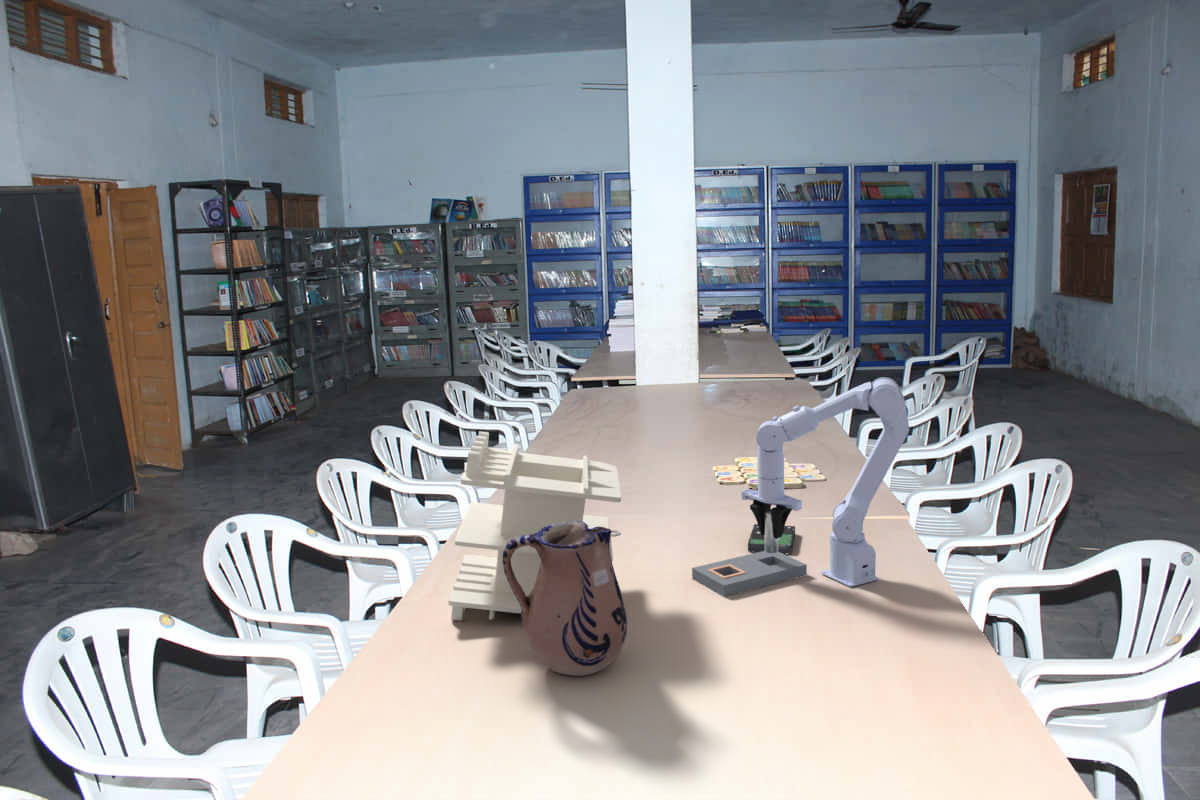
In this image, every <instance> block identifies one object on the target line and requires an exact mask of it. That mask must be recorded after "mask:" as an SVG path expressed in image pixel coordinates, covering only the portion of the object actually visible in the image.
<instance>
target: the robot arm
mask: <svg viewBox="0 0 1200 800" xmlns="http://www.w3.org/2000/svg"><path fill="white" fill-rule="evenodd" d="M869 406H870V407H871V409H872V410H873V411H874V412H875V413H876V415H878V416H879V417H880V421H881V424H882V425H883V429H882V431H881V433H880V434H879V436H878V438H877V440H876V442H875V444H874V446H873V448H872V449H871V451H870V454H869V455H868V457H867V459H866V461H865V463H864V465H863V467H862V469H861V470H860V472H859V474H858V476H857V478H856V480H855V481H854V483H853V485H852V487H851V489H850V491H848V493H847V494H846V496H845V497H844V499H843V500H842V501H841V502H839V503H838V504H836V505H835V507H834V509H833V510H832V519H833V520H832V525H831V529H832V531H831V532H830V535H829V540H830V541H829V543H830V544H829V569H826V570H825V569H824V570H821V573H820V574H822V575H823V576H826V577H828V578H830V579H832V580H835V581H836V582H839V583H841V584H843V585H846V586H848V587H849V588H850V587H852V588H853V587H856V586H860V585H864V584H868V583H870V582H873V581H874V582H875V581H878V580H879V577H878V576H876V563H877V561H876V557H877V556H876V550H875V548H874V547H873V546H872V545H871V544H870V543H869V542H868V541H867V540H866V538H865V532H863V531H864V530H863V529H864V521H865V518H866V516H867V515H868V512H869V511H868V510H869V508H870V505H871V503H872V501H873V499H874V498H875V495H876V493H877V491H878V489H879V488H880V487H881V484H882V482H884V481H883V480H884V478H885V477H886V475H887V473H888V471H889V469H890V467H891V466H892V463H893V462H894V460H895V458H896V456H897V455H898V453H899V451H900V449H901V447H902V445H903V444H904V441H906V439H907V436H908V434H909V431H910V425H909V417H908V411H907V403H906V400H905V397H904V394H903V392H902V390H901V389H900V387H899V384H898V383H897V382H896V381H895V380H894V379H892V378H890V377H878V378H876V379H874V380H873V381H872V382H871V381H868V382H864V383H862V384H860V385H858V386H856V387H853V388H850V389H849V390H847V391H845V392H843V393H841V394H839V395H837V396H835V397H833V398H831V399H829V400H827V401H824V402H822V403H821V404H819V405H817V406H815V407H809V406H808V405H807V406H806V405H803V406H800V405H795V406H794V407H792V410H791V411H790V412H787V413H786V414H784V415H781V416H778V415H775V416H774V417H772V420H766V421H764V422H763V423H761V424H760V426H759V428H758V431H757V432H756V438H755V439H756V443H757V445H758V447H757V453H758V454H757V456H756V457H757V468H758V490H753V489H748V488H746V489H743V490H741V500H743V501H747V500H749V501H752V504H749V509H750V511H752V512H751V513H752V514H753V515H754V517H755V520H756V523H757V524H758V526H759V530H760V534H761V535H764V511H765V510H770V512H771V515H772V519H773V533H774V538H775V539H778V538H780V537H782V534H783V529H784V526H786V523H787V520H788V518H789V516H790V514H791V512H792V510H793V511H794V512H798V511H801V510H802V508H803V501H802V500H800V499H797V498H794V497H793V496H789V495H787V494H785V489H784V458H785V455H784V442H785V443H786V442H787V443H789V442H792V441H794V440H796V439H799V438H801V437H804V436H806V435H808V434H810V433H812V432H814V431H816V430H817V429H818V426H819V423H820V422H823V421H825V420H827V419H828V420H829V419H830V418H832V417H835V416H838V415H839V414H842V413H845V412H847V411H850V410H853V409H856V410H857V409H858V410H861V411H862V410H863V411H867V412H868V411H869ZM772 506H775V507H773V508H772Z"/></svg>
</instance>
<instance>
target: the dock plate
mask: <svg viewBox="0 0 1200 800" xmlns="http://www.w3.org/2000/svg"><path fill="white" fill-rule="evenodd" d="M807 570H808V569H807V564H806V563H804V562H801V561H800V560H797V559H795V558H793V557H791V556H789V555H788V554H782V553H780V552H776V553H767V552H765V551H762V552H752V553H750V554H746V555H741V556H737V557H733V558H729V559H728V558H727V559H724V560H720V561H716V562H711V563H708V564H707V563H706V564H703V565H699V566H695V567H691V576H692V577H691V579H692V580H694V581H695V580H696V582H697V581H698V582H697V583H699V584H701V585H702V584H703V585H702V586H704V585H705V586H704V587H706V588H708V589H709V588H710V590H712V592H715V593H716V592H717V594H718V595H720V596H722V597H723V598H725V597H729V596H733V595H735V594H736V595H737V594H740V592H741V593H743V592H744V593H745V592H748V591H751V589H752V590H756V589H760V588H762V587H768V586H771V584H772V585H775V584H779V583H782V582H781V581H783V582H786V581H785V580H787V581H790V580H789V579H791V580H794V579H793V578H795V579H797V578H796V577H799V578H801V577H800V576H803V577H805V576H804V575H806V576H807V575H808V573H807ZM778 582H779V583H778ZM759 587H760V588H759ZM755 588H756V589H755ZM747 590H748V591H747ZM732 594H733V595H732Z"/></svg>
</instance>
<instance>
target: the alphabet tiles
mask: <svg viewBox="0 0 1200 800" xmlns="http://www.w3.org/2000/svg"><path fill="white" fill-rule="evenodd" d="M734 464H735V465H732V464H731V465H715V466H713V467H712V471H714V472H713V473H714V477H715V479H716V481H718V482H717V483H718V484H719V483H722V484H721V485H724V484H728V485H739V484H738V483H743V484H745V485H747V486H746V488H747V487H748V488H752V489H751V490H753V489H758V468H757V456H747V457H745V456H744V457H736V458H734ZM736 465H737V466H736ZM742 476H743V477H742ZM717 477H718V478H717ZM824 480H825V481H826V477H825V476H824V475H823V474H821V471H820V470H819V469H818V468H817V467H816V466H815V465H814V464H813V463H789V462H788V461H787V459H786V457H784V488H792V489H801V488H803V487H804V485H803V484H804V483H803V482H805V483H809V482H823V481H824ZM825 481H824V482H825ZM744 482H746V483H744ZM748 488H747V489H748Z"/></svg>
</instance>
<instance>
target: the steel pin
mask: <svg viewBox="0 0 1200 800" xmlns="http://www.w3.org/2000/svg"><path fill="white" fill-rule="evenodd" d="M764 551H765V552H767V553H776V552H778V539H775V538H774V533H773V519H772V515H771V512H770V510H765V511H764Z"/></svg>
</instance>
